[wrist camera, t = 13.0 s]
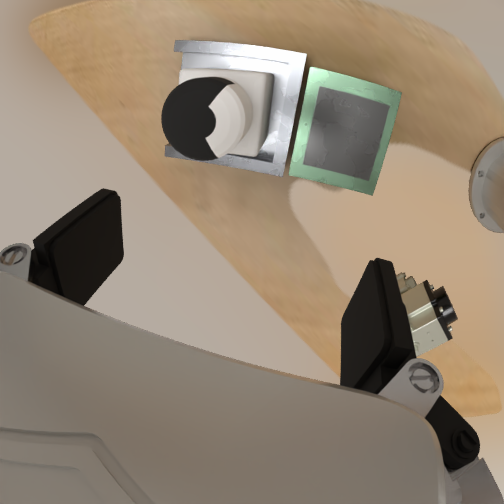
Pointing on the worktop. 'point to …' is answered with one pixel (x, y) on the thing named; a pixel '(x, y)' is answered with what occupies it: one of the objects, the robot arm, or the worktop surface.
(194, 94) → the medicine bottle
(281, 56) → the grey and green bracket
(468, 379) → the worktop surface
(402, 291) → the pneumatic valve
